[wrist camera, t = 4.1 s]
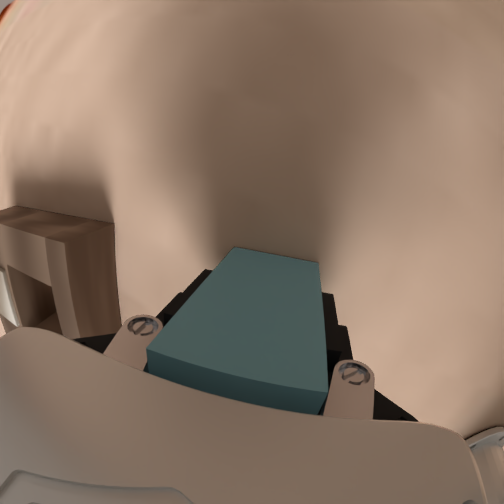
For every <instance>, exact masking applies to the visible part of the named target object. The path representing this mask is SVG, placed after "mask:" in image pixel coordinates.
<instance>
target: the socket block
mask: <svg viewBox="0 0 504 504" xmlns="http://www.w3.org/2000/svg"><path fill="white" fill-rule="evenodd" d="M0 318H1V321H2V324H3V326H4V329H5V332H6V334H7V333H9V332H10V331H12V330H14V329H17V328H20V327H35V328H40V329H45V330H49V331H52V332H55V333H58V334H60V335H63V336H65V337H68V338H70V339H76V338H84V337H91V336H99V335H106V334H113V333H117V332H118V331H119V329H120V328H121V327H122V325H121V318H120V310H119V301H118V291H117V280H116V266H115V245H114V224H113V223H108V222H102V221H97V220H91V219H86V218H80V217H75V216H69V215H64V214H58V213H52V212H47V211H41V210H36V209H30V208H24V207H19V206H14V207H10V208H7V209H4V210H0Z"/></svg>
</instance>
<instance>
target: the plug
mask: <svg viewBox="0 0 504 504" xmlns="http://www.w3.org/2000/svg"><path fill="white" fill-rule="evenodd" d="M146 354H147V362H148V370H149V374H152V375H155V376H158V377H160V378H163V379H166V380H169V381H172V382H175V383H178V384H181V385H184V386H187V387H190V388H194V389H197V390H200V391H204V392H207V393H211V394H214V395H218V396H222V397H226V398H230V399H234V400H238V401H242V402H246V403H251V404H255V405H260V406H265V407H270V408H275V409H281V410H287V411H293V412H299V413H306V414H313V415H317V414H318V412H319V410H320V408H321V406H322V404H323V402H324V400H325V398H326V396H327V394H328V373H327V354H326V338H325V325H324V313H323V302H322V291H321V282H320V273H319V264H318V263H316V262H311V261H306V260H300V259H295V258H290V257H285V256H280V255H274V254H269V253H264V252H259V251H253V250H248V249H243V248H238V247H234V248H233V249H232V250H231V251H230V252H229V253H228V254H227V256H226V257H225V258H224V259H223V260H222V261H221V262H220V263H219V265H218V266H217V267H216V268H215V269H214V270H213V271H212V272H211V274H210V275H209V276H208V277H207V278H206V279H205V280H204V282H203V283H202V284H201V285H200V286H199V287H198V288H197V290H196V291H195V292H194V293H193V294H192V295H191V296H190V298H189V299H188V300H187V301H186V302H185V303H184V304H183V306H182V307H181V308H180V309H179V310H178V311H177V313H176V314H175V315H174V316H173V317H172V318H171V319H170V321H169V322H168V323H167V324H166V325H165V326H164V328H163V329H162V330H161V331H160V332H159V333H158V335H157V336H156V337H155V338H154V339H153V340H152V342H151V343H150V344H149V345H148V346H147V347H146Z"/></svg>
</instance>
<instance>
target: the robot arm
mask: <svg viewBox="0 0 504 504" xmlns="http://www.w3.org/2000/svg"><path fill="white" fill-rule="evenodd" d="M211 272H212V270H207V269H205V270H204V271H203V272H202V273H201V274H200V275H199V276H198V277H197V278H196V279H195V280H194V281H193V282H192V283H191V284H190V285H189V286H188V287H187V289H186V290H185V291H184V292H183V293H182V292H180V293H178V294H177V295H176V296H175V297H174V298H173V300H172V301H171V302H170V303H169V304H168V305H167V306H166V307H165V308H164V309H163V310H162V311H161V312H160V313H159V314H158V315H157V316H156V317H153V316H150V315H136V316H133V317H131V318H129V319H127V320H126V321H125V322H124V324H123V325H122V327H121V328H120V329H119V331H118V332H117V333H113V334H106V335H99V336H91V337H84V338H76V339H70V338H68V337H65V336H63V335H60V334H58V333H55V332H52V331H49V330H45V329H40V328H35V327H20V328H17V329H14V330H12V331H10V332H9V333H7V334H5V335H3V336H2V337H0V504H504V451H503V448H502V447H503V445H504V427H495V428H491V429H488V430H486V431H483V432H481V433H479V434H477V435H474V436H473V437H471V438H469V439H467V440H464V439H463V438H462V437H461V436H460V435H459V434H457V433H456V432H454V431H452V430H449V429H447V428H444V427H440V426H437V425H433V424H428V423H422V422H418V420H417V419H415V418H414V417H413V416H412V415H410V414H409V413H407V412H406V411H405V410H403V409H402V408H400V407H399V406H397V405H396V404H395V403H393V402H392V401H390V400H389V399H388V398H386V397H385V396H383V395H382V394H381V393H379V392H378V391H376V390H375V389H374V383H375V377H374V373H373V371H372V370H371V369H370V368H369V367H368V366H367V365H365V364H364V363H362V362H359V361H356V360H353V356H352V351H351V345H350V340H349V335H348V330H347V327H346V326H342V325H338V320H337V314H336V308H335V302H334V296H333V294H329V293H323V292H322V302H323V313H324V325H325V338H326V354H327V373H328V394H327V396H326V398H325V400H324V402H323V404H322V406H321V408H320V410H319V412H318V414H317V415H313V414H306V413H299V412H293V411H287V410H281V409H275V408H270V407H265V406H260V405H255V404H251V403H246V402H242V401H238V400H234V399H230V398H226V397H222V396H218V395H214V394H211V393H207V392H204V391H200V390H197V389H194V388H190V387H187V386H184V385H181V384H178V383H175V382H172V381H169V380H166V379H163V378H160V377H158V376H155V375H152V374H149V370H148V362H147V354H146V347H147V346H148V345H149V344H150V343H151V342H152V340H153V339H154V338H155V337H156V336H157V335H158V333H159V332H160V331H161V330H162V329H163V328H164V326H165V325H166V324H167V323H168V322H169V321H170V319H171V318H172V317H173V316H174V315H175V314H176V313H177V311H178V310H179V309H180V308H181V307H182V306H183V304H184V303H185V302H186V301H187V300H188V299H189V298H190V296H191V295H192V294H193V293H194V292H195V291H196V290H197V288H198V287H199V286H200V285H201V284H202V283H203V282H204V280H205V279H206V278H207V277H208V276H209V275H210V274H211Z"/></svg>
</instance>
